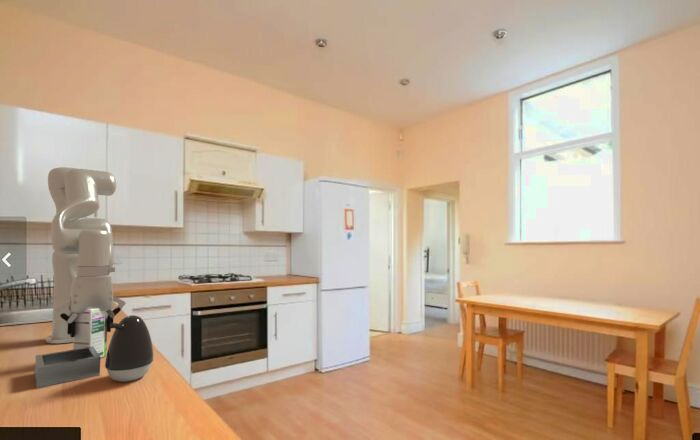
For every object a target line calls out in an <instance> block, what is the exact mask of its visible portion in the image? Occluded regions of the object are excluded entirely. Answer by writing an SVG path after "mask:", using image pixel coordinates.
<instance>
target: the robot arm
mask: <svg viewBox="0 0 700 440" xmlns="http://www.w3.org/2000/svg"><path fill="white" fill-rule="evenodd" d="M47 186H48V191H49V193H50V196H51V198H52V201H53V202H54V206H55V210H56V214H55V215H54V216H53V218H52V220H51V221H52V222H51V226H50V235H51V236H50V238H51V245H52V249H53V252H52V254H51V255H52V256H51V264H52V271H53V302H52V303H53V304H52V305H53V306H52V320H51V321H52V322H51V323H52V328H51V335H48V336H47V337H45V340H44V341H45V343H46V344H52V345H53V344H56V345H57V344H58V345H59V344H69V343H73V339H74V336H75V322H74V319H75V318H76V317H77V315H78V314H81V313H84V312H85V310H86V309H94V308H99V309H100V311H106V312H107V313H108V321H107V333H111V331H112V330H111V329H113V328H112V327H110V325H111V323H114V318H115V317H116V316H117V315H118V314H119V312H121V311H122V309H123V307H125V305H126V304H127V303H126V301H124V300H123V299H120V298H119V297H117V296H114V285H113V284H114V283H113V278H112V275H110V273H113V272H115V270H116V268H115V267H114V263H115V252H114V244H113V243H114V240H113V238H114V237H113V229H112V226H111V223H110V222H109V221H108V219H105V218H100V217H99V218H97V217H89V216H91V215H94V214H95V213H96V212H98V210H99V209H100V201H99V196H113V195H114V194H115V192H116V189H117V182H116V178H115V176H114V174H112V173H111V172H109V171H104V170H103V171H101V170H94V169H87V168H75V167H66V166H65V167H63V166H62V167H60V166H59V167H54V168H52V169H51V170H50V171H49V172H48V175H47ZM114 302H115V303H117V306H116V307H115V308H114V309H113V307H114ZM112 309H113V310H112Z"/></svg>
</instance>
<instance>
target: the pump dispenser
mask: <svg viewBox="0 0 700 440" xmlns="http://www.w3.org/2000/svg"><path fill="white" fill-rule="evenodd" d="M110 327H112V328H111V329H115V330H114V331H113V334H112V336H111V338H110V342H109V344H108V346H107V355H106V356H105V362H104V363H105V364H104V367H105V369H106V371H107V375H108V376H109V377H110V378H111V379H112V380H113V381H116V382H120V383H121V382H123V383H125V382H126V383H127V382H132V381H136V380H139V379H140V378H142V377H144V376H145V375H147V373H148V372H149V371H150V368H151V367H152V363H153V362H154V348H153V341H152V339H151V338H152V337H151V334H150V330H149V329H148V327H147V324H146V322H145V321H144V319H143V318H142V317H141V316H138V315H131V314H130V315H127V316H126V317H124V318H122V319H121V320H120V321H119V323H118V322H117V323H116V322H113V323H111V325H110Z"/></svg>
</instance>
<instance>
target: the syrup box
mask: <svg viewBox="0 0 700 440" xmlns="http://www.w3.org/2000/svg"><path fill="white" fill-rule="evenodd" d="M107 321H108V313H107V312H106V311H100V309H99V308H94V309H86V310H85V312H84V313H81V314H78V315H77V317H76V318H75V319H74V322H75V336H74V339H73V342H72V344H73V345H72V350H73V349H80V348H86V347H92V346H93V347H94V348H95V350H96V351H97V353H98V354H99V355H100V359H101V358H104V357H106V356H107V351H108V332H107Z"/></svg>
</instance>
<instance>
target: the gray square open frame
mask: <svg viewBox="0 0 700 440" xmlns="http://www.w3.org/2000/svg"><path fill="white" fill-rule="evenodd" d="M100 375H101V358H100V355H99V354H98V353H97V351H96V350H95V348H94V347H93V346H92V347H86V348H80V349H73V348H72V349H70V350H69V349H68V350H62V351H57V352H49V353H42V354H37V355H35V362H34V378H35V386H36V389H38V388H43V387H44V388H45V387H48V386H49V387H50V386H53V385H58V384H63V383H68V382H73V381H78V380H82V379H88V378H92V377H96V376H97V377H99V376H100Z"/></svg>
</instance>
